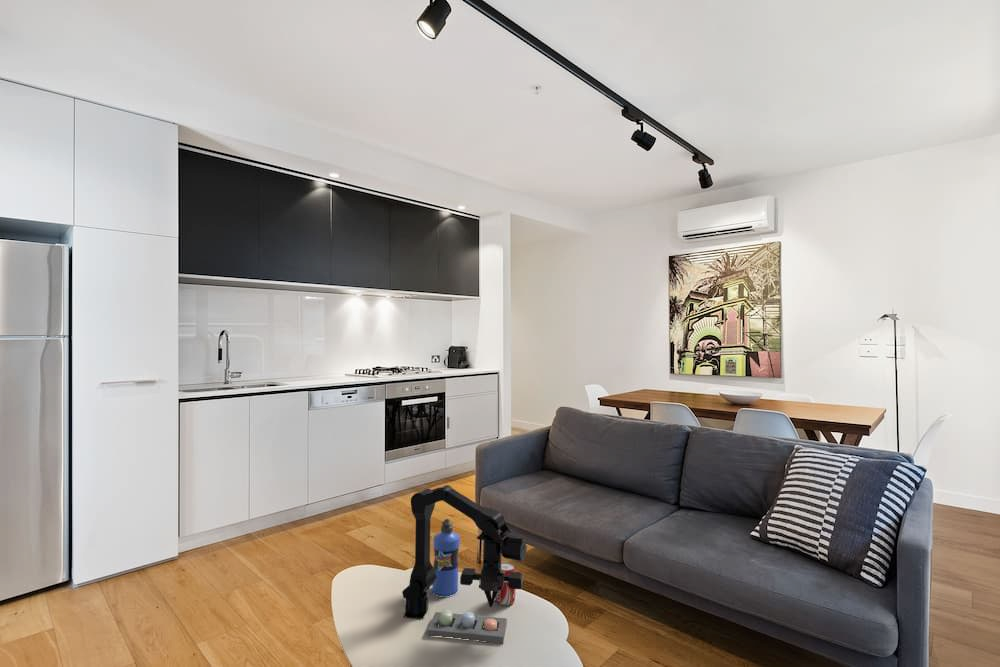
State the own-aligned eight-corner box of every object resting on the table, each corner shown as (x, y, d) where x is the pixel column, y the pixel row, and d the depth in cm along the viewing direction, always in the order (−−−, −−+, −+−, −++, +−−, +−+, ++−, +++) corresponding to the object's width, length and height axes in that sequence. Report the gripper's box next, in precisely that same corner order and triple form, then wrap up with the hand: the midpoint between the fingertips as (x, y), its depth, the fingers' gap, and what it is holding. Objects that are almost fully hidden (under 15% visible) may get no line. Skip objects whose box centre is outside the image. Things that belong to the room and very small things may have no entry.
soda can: (513, 608, 163) (514, 572, 163) (492, 605, 164) (493, 569, 165) (516, 597, 170) (517, 563, 170) (497, 595, 171) (497, 560, 172)
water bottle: (435, 583, 179) (437, 514, 180) (460, 585, 178) (462, 516, 178) (428, 596, 170) (430, 523, 171) (454, 598, 168) (456, 525, 169)
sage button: (437, 626, 148) (438, 616, 149) (440, 619, 152) (441, 609, 152) (450, 627, 148) (450, 617, 148) (453, 620, 152) (453, 610, 152)
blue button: (460, 628, 148) (460, 618, 148) (462, 621, 152) (463, 611, 152) (473, 629, 147) (473, 619, 147) (475, 622, 151) (475, 612, 151)
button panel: (427, 636, 146) (427, 629, 146) (435, 618, 156) (435, 612, 156) (503, 643, 143) (503, 636, 143) (506, 624, 153) (506, 618, 153)
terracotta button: (482, 635, 147) (483, 625, 147) (484, 628, 151) (485, 618, 151) (496, 636, 146) (496, 626, 146) (497, 629, 150) (497, 619, 150)
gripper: (457, 564, 142) (455, 618, 142) (520, 568, 140) (519, 623, 140) (464, 548, 153) (463, 598, 153) (523, 553, 151) (522, 603, 151)
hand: (491, 606), depth 149 cm, fingers closed
